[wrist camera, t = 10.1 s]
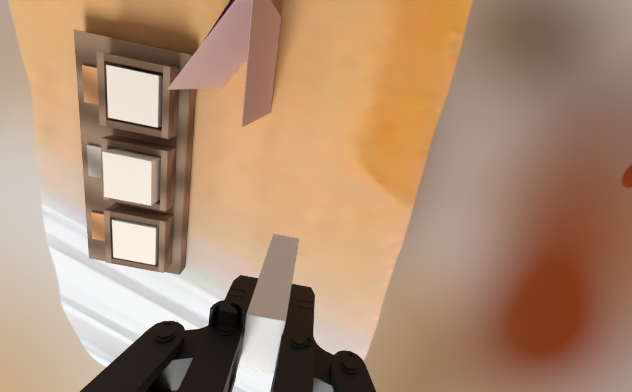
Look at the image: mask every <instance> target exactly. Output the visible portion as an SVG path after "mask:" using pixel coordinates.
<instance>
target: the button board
mask: <svg viewBox="0 0 632 392" xmlns="http://www.w3.org/2000/svg"><path fill="white" fill-rule="evenodd" d="M74 39H75V54H76V69H77V84H78V98H79V113H80V128H81V143H82V158H83V173H84V188H85V203H86V218H87V233H88V248H89V258H91V259H97V260H102V261H106V262H107V263H113V264H118V265H124V266H129V267H135V268H140V269H146V270H151V271H157V272H162V273H164V272H168V273H173V274H179V275H180V274H181V272H182V271H183V270H184V268H185V261H186V245H187V228H188V212H189V195H190V179H191V162H192V146H193V129H194V113H195V96H196V89H174V90H167V89H168V88H169V86H170V85H171V84H172V82H173V81H174V80H175V78H176V77H177V76H178V74H179V73H180V72H181V70H182V69H183V68H184V67H185V65H186V64H187V63H188V61H189V60H190V59H191V57H192V56H193V55H190V54H185V53H181V52H176V51H172V50H167V49H162V48H158V47H153V46H148V45H144V44H139V43H134V42H130V41H125V40H120V39H116V38H111V37H107V36H102V35H97V34H93V33H88V32H83V31H79V30H74ZM106 65H114V66H122V67H126V68H131V69H136V70H141V71H145V72H150V73H155V74H159V75H163V101H162V127H158V128H157V127H152V126H147V125H143V124H138V123H133V122H128V121H123V120H118V119H113V118H108V101H107V73H106ZM113 148H118V149H123V150H128V151H133V152H138V153H143V154H149V155H154V156H159V157H161V181H160V200H159V201H157V202H156V203H154V204H153V205H151V206H149V205H144V204H139V203H134V202H129V201H123V200H118V199H113V198H108V197H104V182H103V159H102V151H106V150H109V149H113ZM115 218H120V219H125V220H131V221H136V222H141V223H146V224H152V225H157V226H159V261H158V262H157V264H156V265H152V264H147V263H141V262H136V261H130V260H125V259H120V258H114V257H113V234H112V220H113V219H115Z"/></svg>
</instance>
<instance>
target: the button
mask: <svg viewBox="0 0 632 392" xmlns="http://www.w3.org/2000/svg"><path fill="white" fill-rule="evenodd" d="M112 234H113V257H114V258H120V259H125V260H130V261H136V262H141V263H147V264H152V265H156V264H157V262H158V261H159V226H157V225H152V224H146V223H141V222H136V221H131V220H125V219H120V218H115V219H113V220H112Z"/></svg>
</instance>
